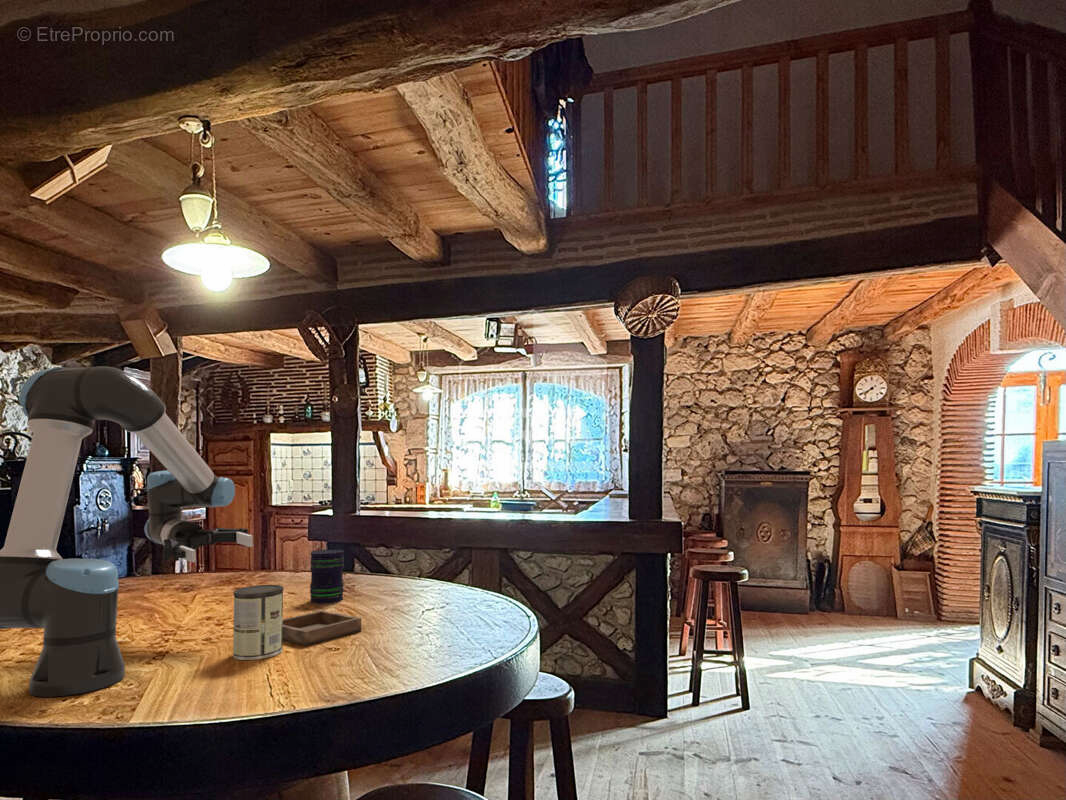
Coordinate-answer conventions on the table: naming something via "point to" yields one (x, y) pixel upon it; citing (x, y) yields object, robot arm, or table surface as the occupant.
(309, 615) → the wooden tray
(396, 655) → the table surface
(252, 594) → the coffee can
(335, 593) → the dark barrel
